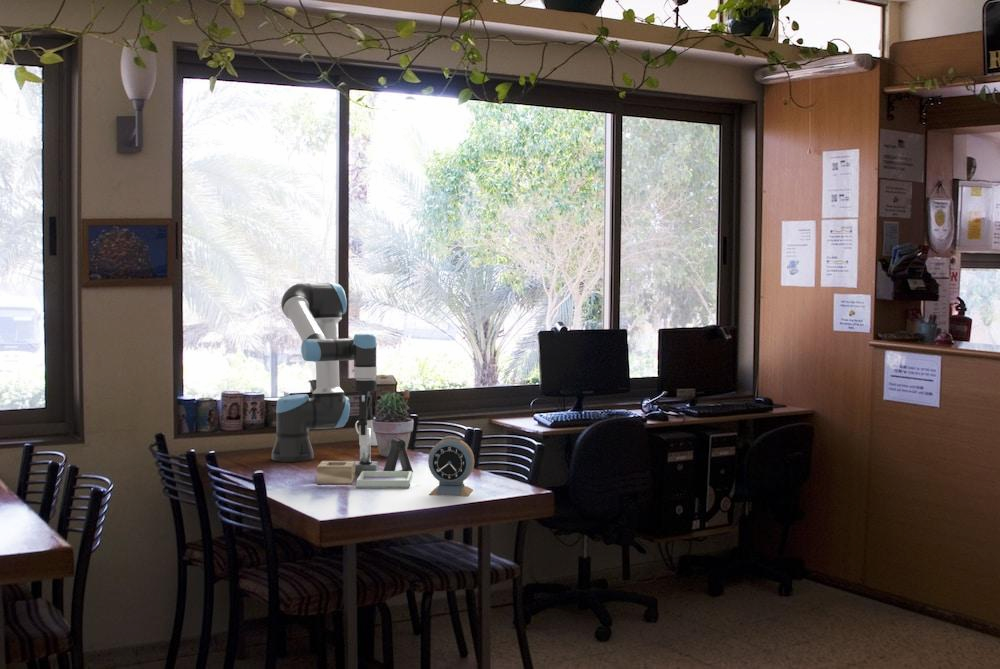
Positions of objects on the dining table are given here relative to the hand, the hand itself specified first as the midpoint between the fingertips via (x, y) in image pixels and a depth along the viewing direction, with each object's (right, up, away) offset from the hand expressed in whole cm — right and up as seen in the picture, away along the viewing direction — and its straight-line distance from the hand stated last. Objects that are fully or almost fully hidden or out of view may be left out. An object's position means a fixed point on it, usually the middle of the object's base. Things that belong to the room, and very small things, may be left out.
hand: (365, 442), depth 373 cm
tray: (+8, -12, -14) cm, 20 cm away
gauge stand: (0, -11, +1) cm, 11 cm away
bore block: (-8, -12, -12) cm, 19 cm away
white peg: (0, -10, +1) cm, 10 cm away
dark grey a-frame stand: (+11, -11, +3) cm, 16 cm away
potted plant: (+4, -9, +43) cm, 44 cm away
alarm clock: (+30, -13, -29) cm, 44 cm away
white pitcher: (-6, -8, +68) cm, 69 cm away
